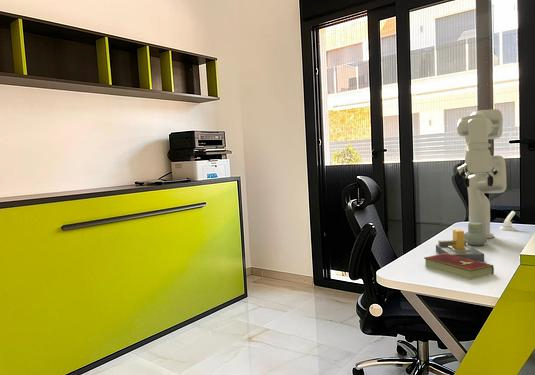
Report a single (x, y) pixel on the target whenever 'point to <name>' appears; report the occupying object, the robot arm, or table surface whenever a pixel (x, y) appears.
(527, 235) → the table surface
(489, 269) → the hardcover book
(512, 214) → the hook
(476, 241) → the air freshener
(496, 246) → the table surface
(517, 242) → the table surface
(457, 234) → the brass peg in socket
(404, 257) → the table surface
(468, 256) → the grey box with slot
